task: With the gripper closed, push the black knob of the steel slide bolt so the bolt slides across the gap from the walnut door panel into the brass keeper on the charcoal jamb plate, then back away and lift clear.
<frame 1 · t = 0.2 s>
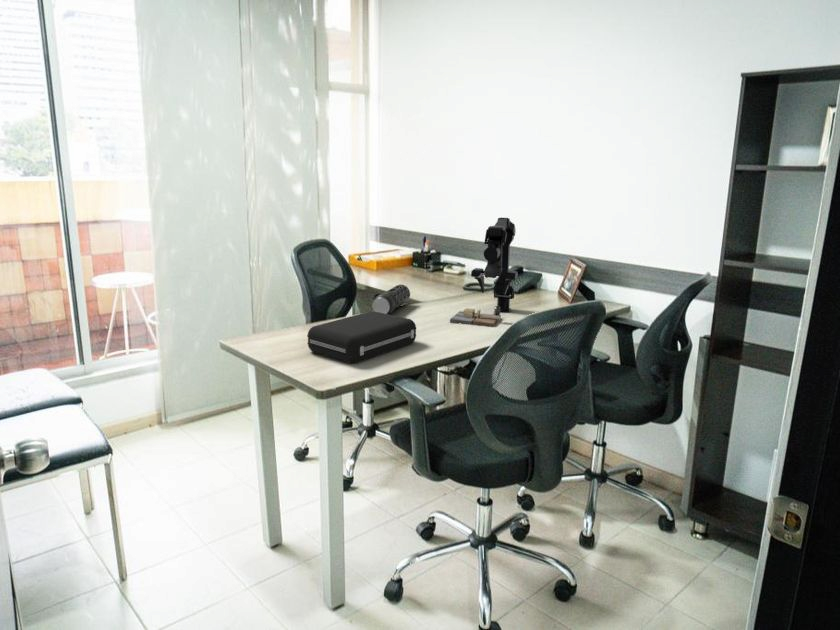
hand: (493, 293, 262), 14 cm above the table, tool pointing down, fingers open, 9 cm apart
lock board: (474, 320, 273), on the table
briefcase: (357, 347, 236), on the table
brass keeper: (472, 313, 273), on the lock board, point 3 cm above the table
steel bolt: (490, 312, 270), point 4 cm above the table, slide at 0.0 cm
dark grey textured cylinder: (391, 312, 288), on the table
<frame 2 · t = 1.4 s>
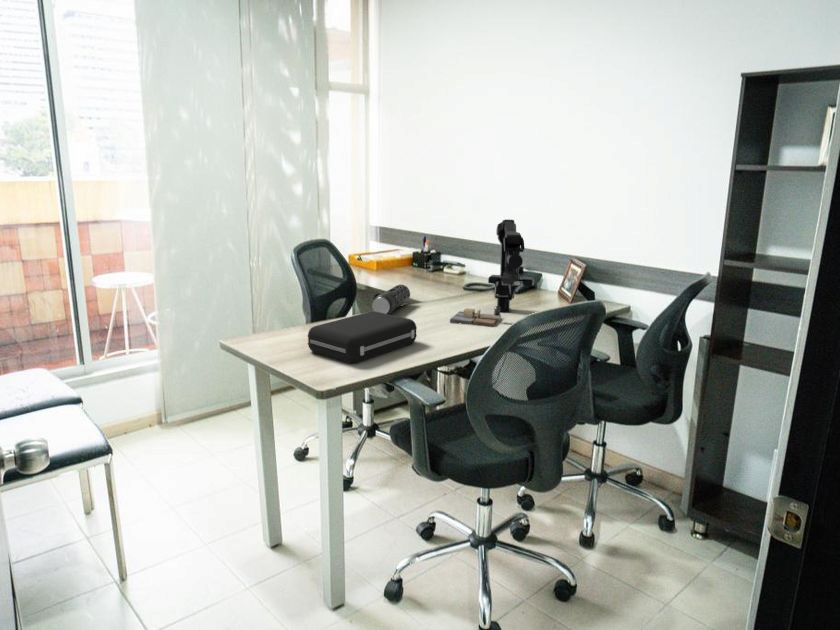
hand: (510, 300, 266), 10 cm above the table, tool pointing down, fingers closed
nothing on the table moved.
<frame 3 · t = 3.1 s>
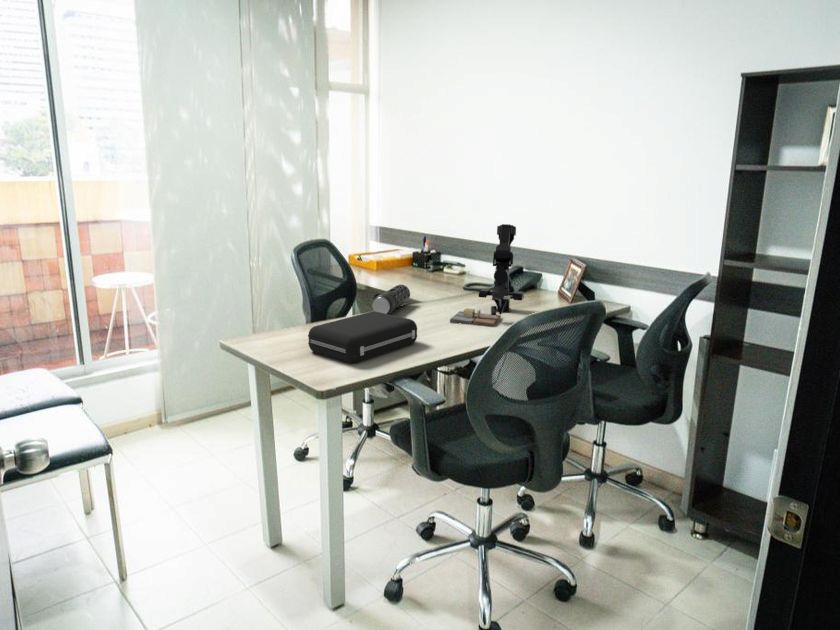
hand: (500, 313, 268), 4 cm above the table, tool pointing down, fingers closed
steel bolt: (487, 311, 270), point 4 cm above the table, slide at 1.6 cm, touching gripper
everything else where it was.
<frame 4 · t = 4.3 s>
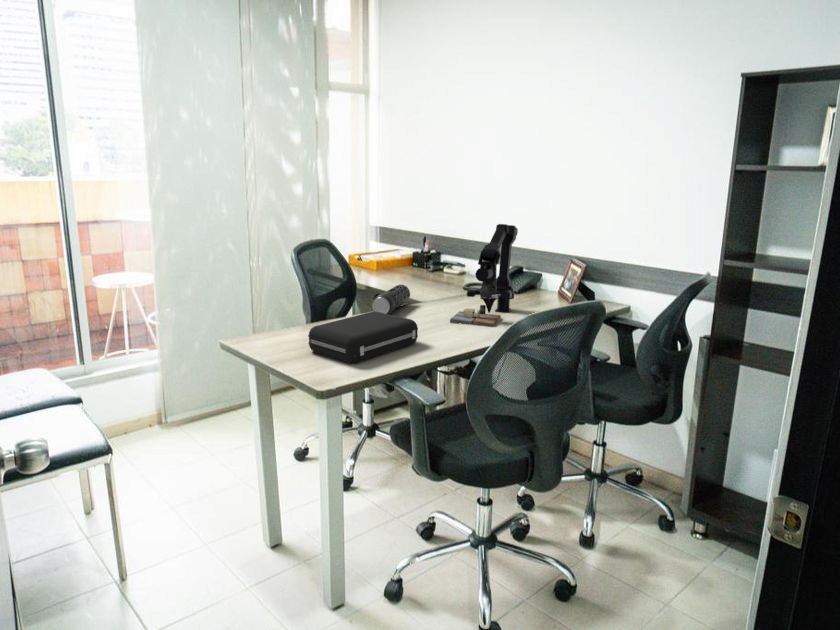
hand: (489, 312, 270), 4 cm above the table, tool pointing down, fingers closed
steel bolt: (476, 310, 272), point 4 cm above the table, slide at 6.4 cm, touching gripper
everything else where it was.
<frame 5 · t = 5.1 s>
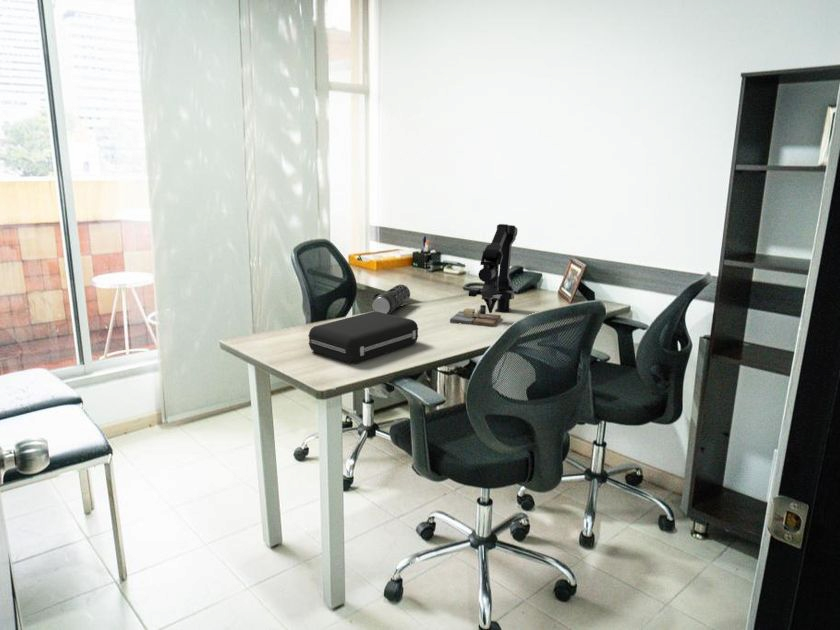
hand: (490, 312, 270), 4 cm above the table, tool pointing down, fingers closed
steel bolt: (476, 310, 272), point 4 cm above the table, slide at 6.3 cm
everything else where it was.
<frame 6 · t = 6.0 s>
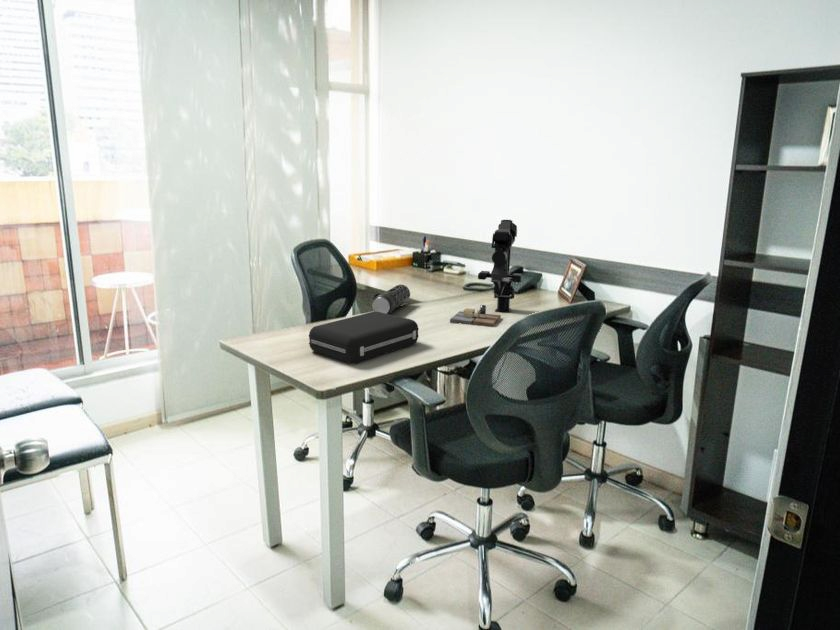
hand: (499, 295, 270), 11 cm above the table, tool pointing down, fingers closed
nothing on the table moved.
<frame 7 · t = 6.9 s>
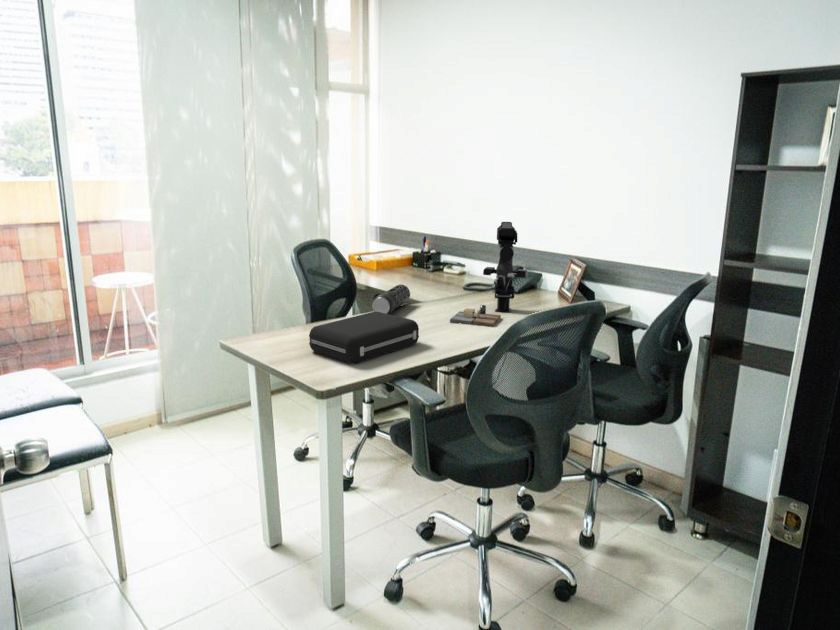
hand: (504, 291, 275), 12 cm above the table, tool pointing down, fingers closed
nothing on the table moved.
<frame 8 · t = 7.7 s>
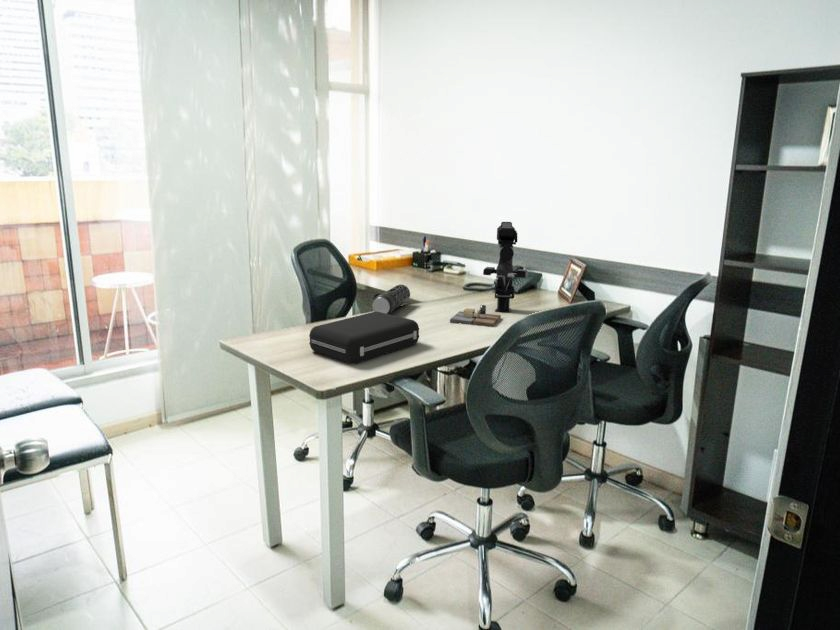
hand: (504, 291, 275), 12 cm above the table, tool pointing down, fingers closed
at the end: steel bolt slide at 6.3 cm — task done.
